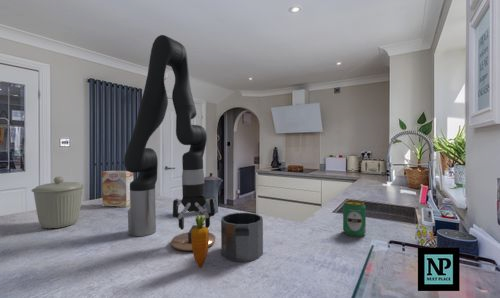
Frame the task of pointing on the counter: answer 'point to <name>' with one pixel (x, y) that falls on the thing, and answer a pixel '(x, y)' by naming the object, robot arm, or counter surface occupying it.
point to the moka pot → (211, 190)
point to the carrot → (200, 241)
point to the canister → (58, 203)
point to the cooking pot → (242, 237)
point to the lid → (188, 241)
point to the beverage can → (354, 218)
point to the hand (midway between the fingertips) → (194, 228)
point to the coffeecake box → (116, 188)
